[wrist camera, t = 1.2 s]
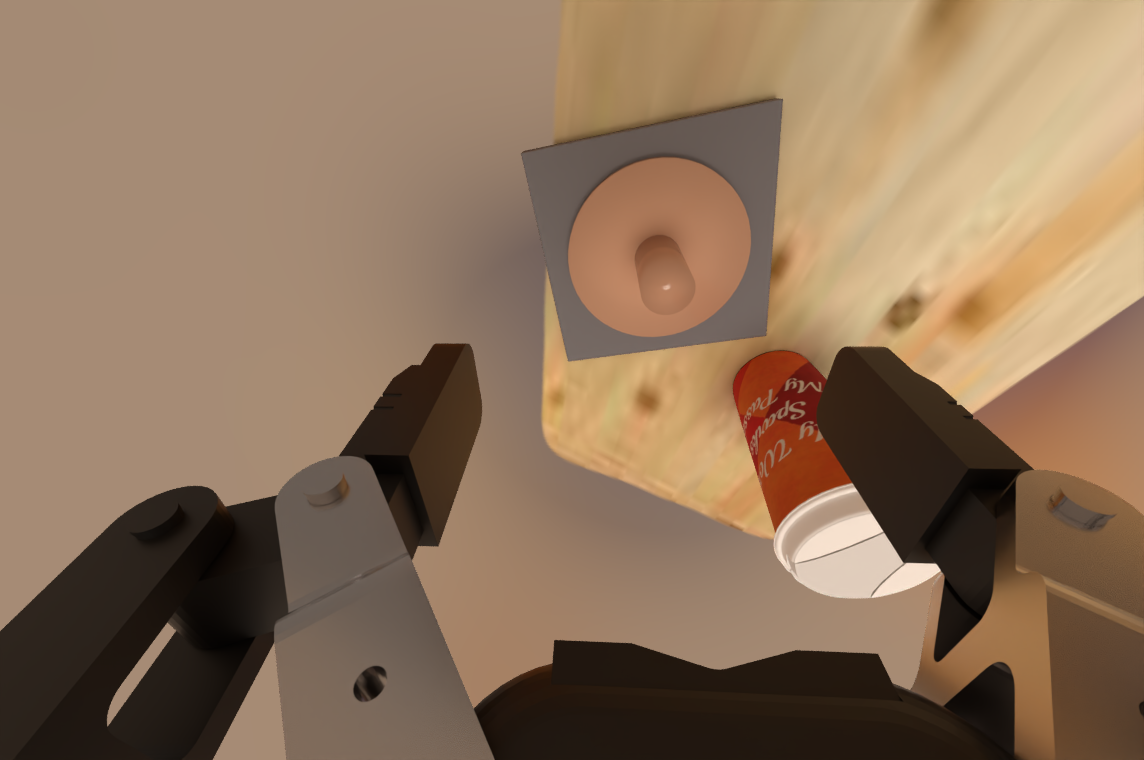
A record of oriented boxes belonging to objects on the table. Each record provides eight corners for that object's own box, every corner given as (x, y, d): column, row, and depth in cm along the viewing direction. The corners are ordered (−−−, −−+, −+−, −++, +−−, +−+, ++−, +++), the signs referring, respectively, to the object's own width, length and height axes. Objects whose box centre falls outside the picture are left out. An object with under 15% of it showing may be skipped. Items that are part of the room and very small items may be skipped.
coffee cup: (770, 317, 30) (887, 478, 18) (854, 368, 32) (1011, 546, 20) (694, 398, 35) (745, 573, 22) (772, 439, 37) (858, 621, 24)
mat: (776, 98, 23) (782, 98, 22) (761, 329, 31) (766, 335, 30) (523, 151, 25) (521, 153, 24) (569, 354, 33) (568, 361, 32)
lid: (750, 137, 23) (789, 152, 19) (744, 319, 29) (772, 365, 25) (552, 177, 25) (541, 199, 20) (584, 341, 31) (582, 388, 26)
